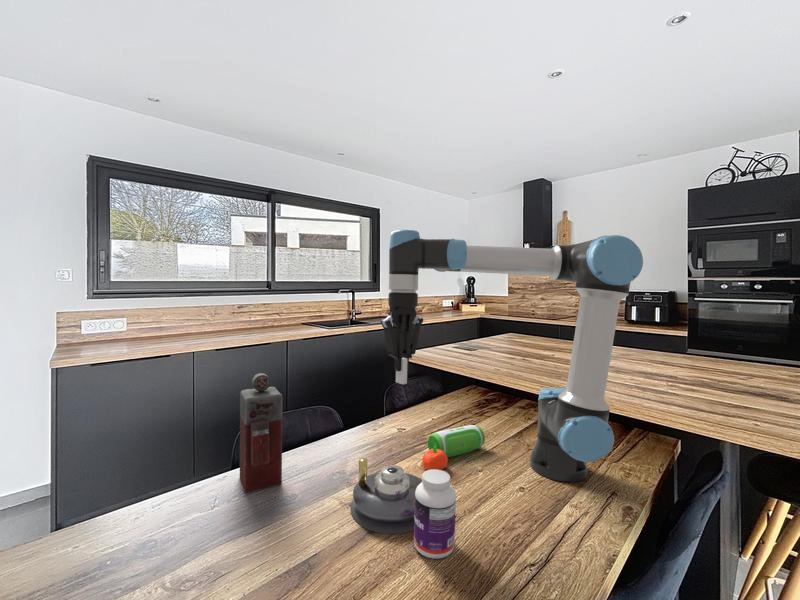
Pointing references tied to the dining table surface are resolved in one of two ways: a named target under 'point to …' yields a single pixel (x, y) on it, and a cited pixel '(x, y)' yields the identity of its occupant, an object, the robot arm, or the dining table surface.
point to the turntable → (379, 508)
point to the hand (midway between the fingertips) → (401, 382)
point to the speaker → (457, 440)
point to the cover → (392, 484)
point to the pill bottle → (435, 515)
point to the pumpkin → (434, 459)
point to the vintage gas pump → (260, 435)
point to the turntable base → (381, 524)
